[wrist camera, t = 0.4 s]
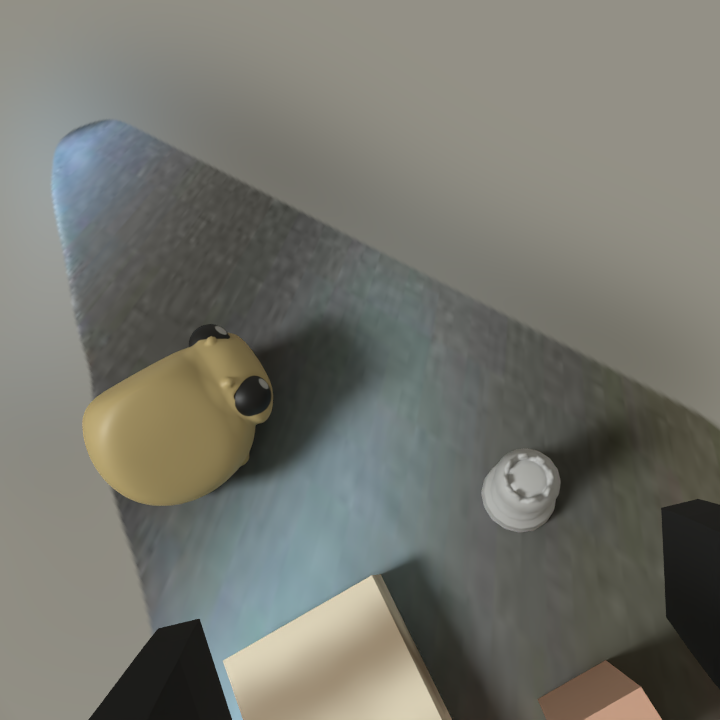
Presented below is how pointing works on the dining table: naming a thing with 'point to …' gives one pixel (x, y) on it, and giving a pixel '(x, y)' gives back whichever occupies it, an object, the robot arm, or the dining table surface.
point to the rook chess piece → (521, 490)
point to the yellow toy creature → (180, 421)
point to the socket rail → (338, 665)
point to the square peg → (598, 698)
